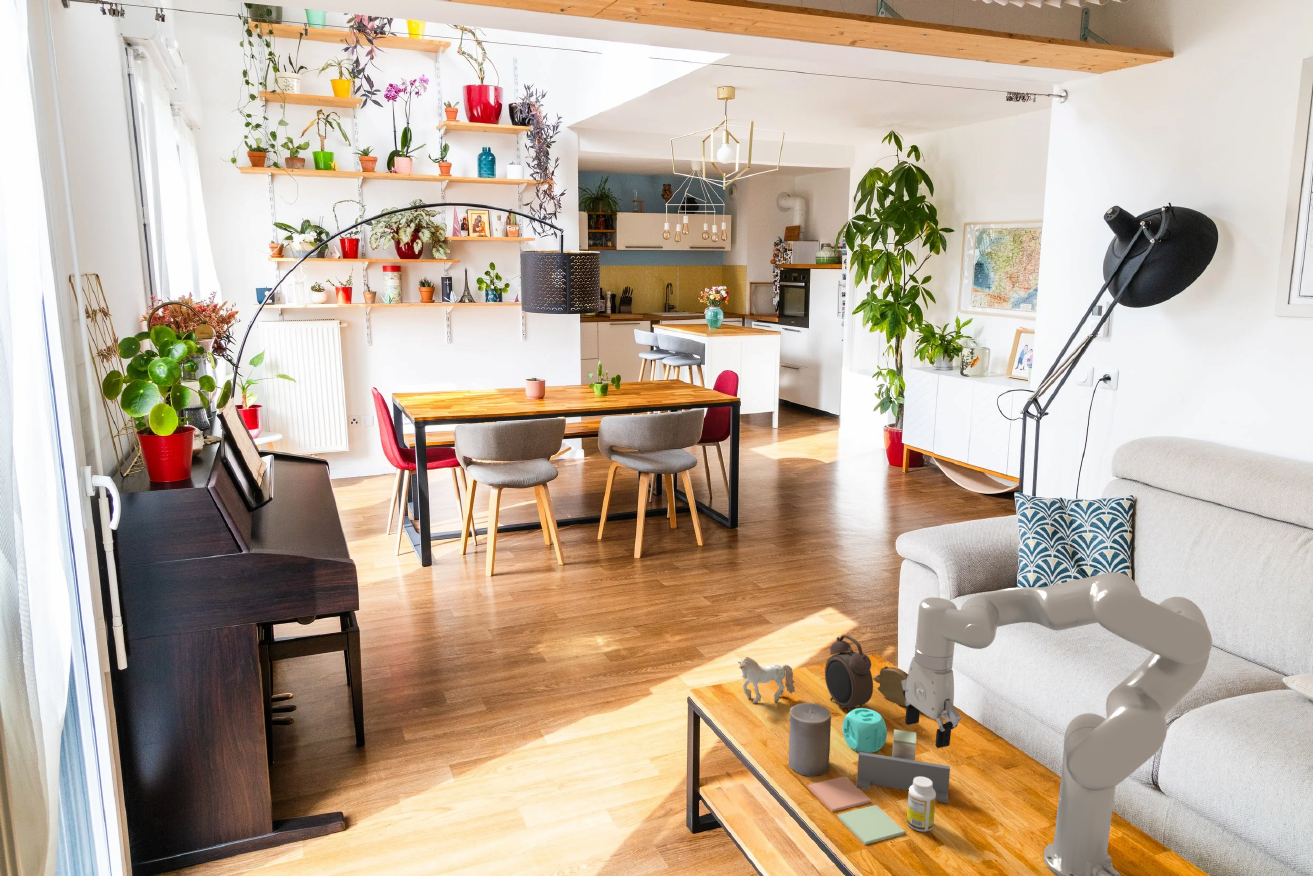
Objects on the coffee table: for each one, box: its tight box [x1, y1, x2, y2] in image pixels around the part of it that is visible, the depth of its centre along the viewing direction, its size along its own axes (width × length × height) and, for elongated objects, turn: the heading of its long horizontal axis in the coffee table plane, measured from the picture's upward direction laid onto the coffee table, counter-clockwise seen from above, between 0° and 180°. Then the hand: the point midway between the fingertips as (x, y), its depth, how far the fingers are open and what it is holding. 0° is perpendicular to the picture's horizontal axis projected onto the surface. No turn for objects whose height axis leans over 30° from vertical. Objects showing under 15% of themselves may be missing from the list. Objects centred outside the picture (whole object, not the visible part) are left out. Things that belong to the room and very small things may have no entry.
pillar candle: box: [788, 702, 832, 777], centre depth 210 cm, size 10×10×15 cm
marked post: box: [891, 728, 917, 761], centre depth 207 cm, size 5×5×10 cm
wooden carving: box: [872, 666, 908, 707], centre depth 242 cm, size 16×5×10 cm, turn 43°
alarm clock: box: [824, 634, 874, 713], centre depth 238 cm, size 15×7×20 cm, turn 25°
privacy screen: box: [855, 752, 951, 804], centre depth 202 cm, size 20×6×7 cm, turn 74°
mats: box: [807, 775, 906, 845], centre depth 194 cm, size 22×10×1 cm, turn 22°
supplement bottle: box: [906, 776, 936, 833], centre depth 188 cm, size 6×6×10 cm
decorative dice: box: [842, 707, 888, 754], centre depth 220 cm, size 8×8×8 cm
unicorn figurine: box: [737, 656, 796, 705], centre depth 241 cm, size 7×20×13 cm, turn 118°
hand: (926, 734), depth 185 cm, fingers open, 9 cm apart
